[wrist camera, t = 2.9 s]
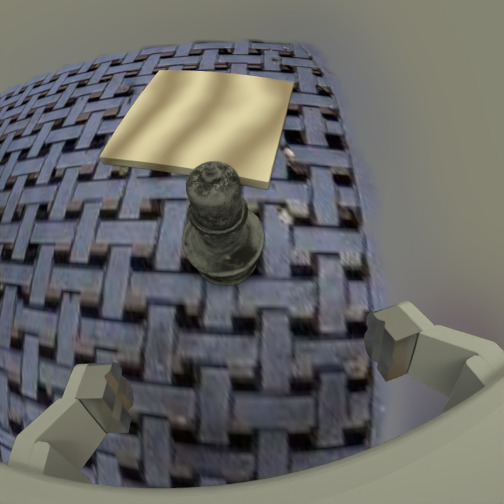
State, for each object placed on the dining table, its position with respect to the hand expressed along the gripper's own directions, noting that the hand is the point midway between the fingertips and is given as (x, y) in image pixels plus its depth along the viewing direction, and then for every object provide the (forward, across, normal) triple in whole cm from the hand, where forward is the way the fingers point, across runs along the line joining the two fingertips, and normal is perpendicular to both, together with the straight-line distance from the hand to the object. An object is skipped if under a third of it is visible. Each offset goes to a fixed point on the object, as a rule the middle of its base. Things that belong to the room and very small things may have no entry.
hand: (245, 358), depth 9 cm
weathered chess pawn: (+16, 0, +4) cm, 16 cm away
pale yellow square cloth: (+27, 0, -8) cm, 29 cm away
